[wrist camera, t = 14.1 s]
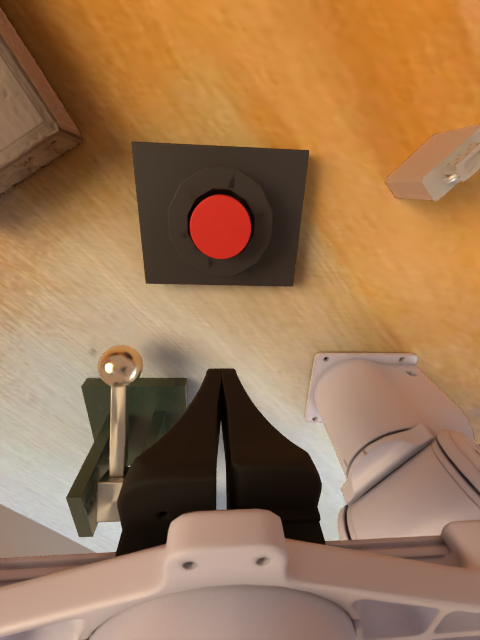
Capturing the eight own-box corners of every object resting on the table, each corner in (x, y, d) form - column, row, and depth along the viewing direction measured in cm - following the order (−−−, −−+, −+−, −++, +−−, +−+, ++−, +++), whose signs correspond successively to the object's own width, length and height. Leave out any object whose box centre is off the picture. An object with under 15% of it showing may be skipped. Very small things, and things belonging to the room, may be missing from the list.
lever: (108, 343, 24) (90, 346, 21) (148, 344, 24) (136, 346, 21) (104, 499, 23) (85, 526, 20) (144, 498, 24) (132, 525, 20)
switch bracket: (86, 378, 26) (22, 469, 18) (187, 378, 27) (170, 466, 18) (104, 456, 31) (58, 559, 22) (190, 455, 31) (178, 555, 23)
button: (250, 195, 18) (253, 196, 16) (247, 253, 19) (249, 260, 18) (191, 193, 18) (188, 194, 16) (193, 252, 19) (190, 258, 18)
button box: (303, 152, 20) (317, 147, 17) (289, 281, 23) (298, 294, 20) (137, 144, 19) (121, 137, 16) (150, 278, 23) (139, 291, 20)
